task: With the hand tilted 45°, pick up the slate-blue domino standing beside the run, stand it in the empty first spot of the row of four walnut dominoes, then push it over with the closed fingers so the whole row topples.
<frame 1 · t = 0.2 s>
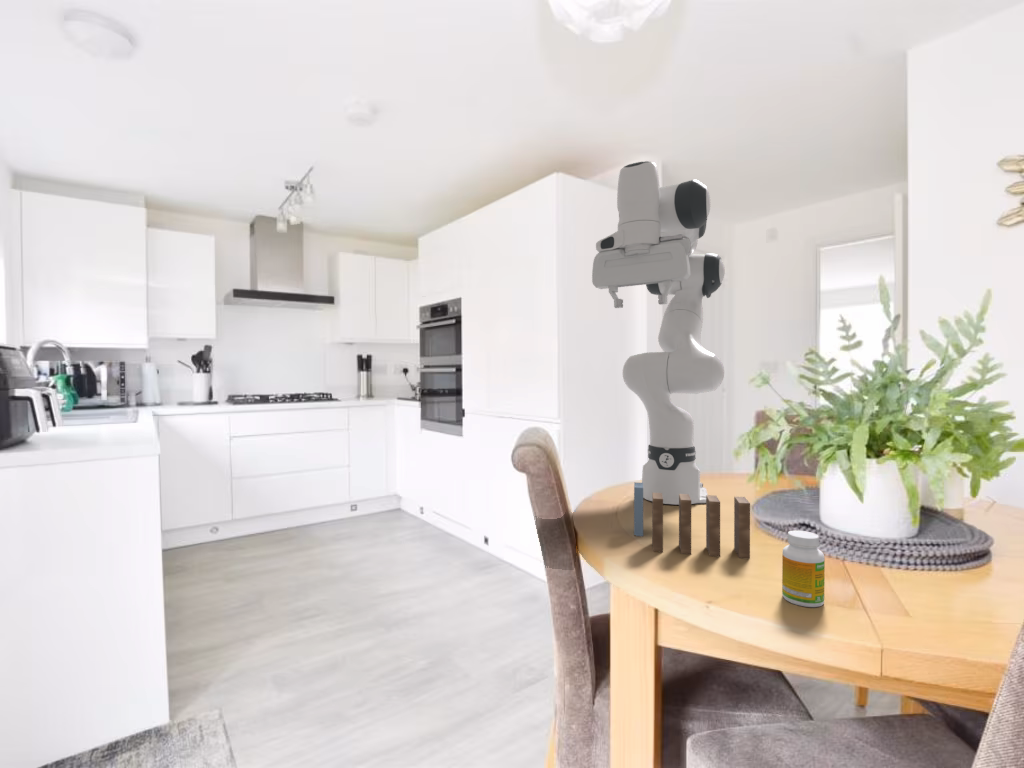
hand: (640, 306, 110), 48 cm above the table, tool pointing down, fingers open, 8 cm apart
domino 4: (713, 551, 97), on the table
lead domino: (638, 532, 109), on the table
supplement bottle: (802, 601, 76), on the table
domino 5: (741, 553, 96), on the table
domino 3: (684, 549, 98), on the table
domino 2: (657, 547, 99), on the table
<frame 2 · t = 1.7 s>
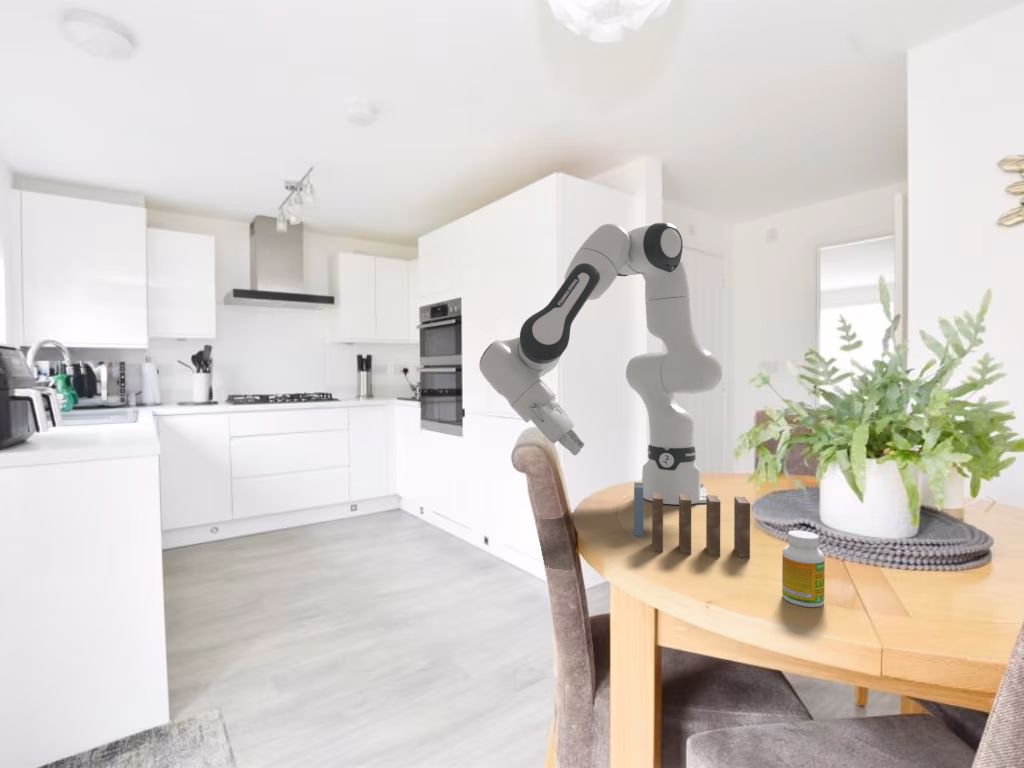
hand: (580, 450, 111), 17 cm above the table, tool tilted 45°, fingers open, 8 cm apart
nothing on the table moved.
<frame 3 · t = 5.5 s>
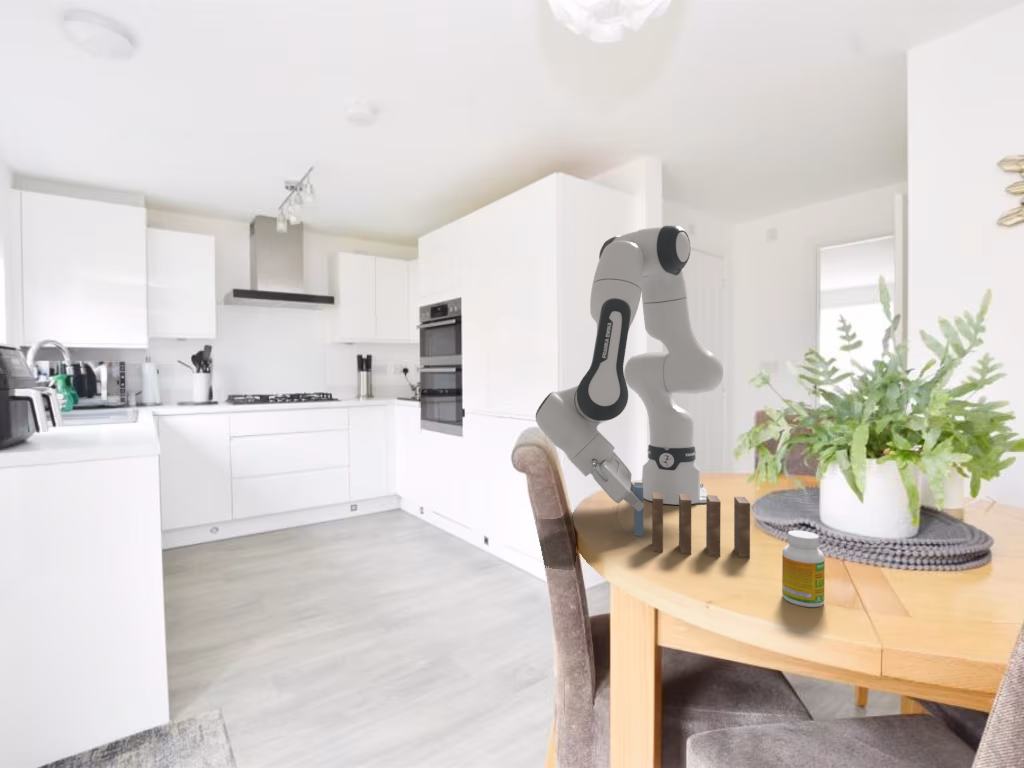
hand: (641, 504, 109), 6 cm above the table, tool tilted 45°, fingers closed on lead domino, 5 cm apart
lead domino: (638, 532, 109), on the table, touching gripper
everything else where it was.
when the fingers open (7 cm above the table, at t = 12.6 s): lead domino drops 1 cm, on the table.
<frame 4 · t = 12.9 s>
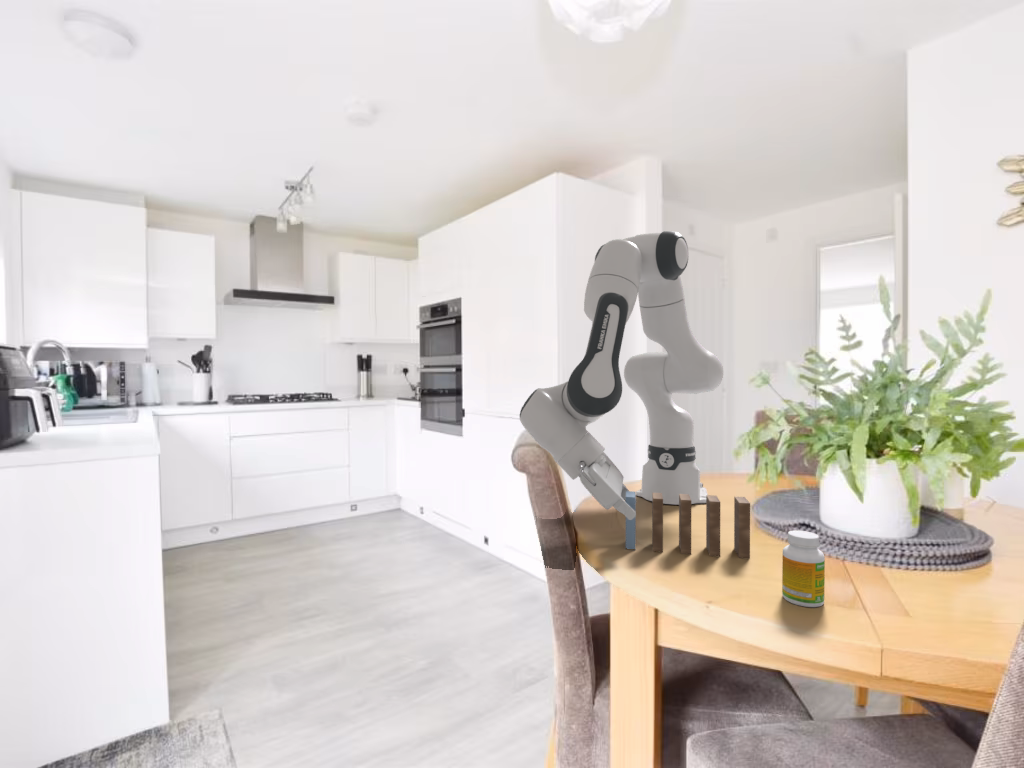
hand: (634, 510, 100), 7 cm above the table, tool tilted 45°, fingers open, 8 cm apart
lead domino: (630, 545, 101), on the table
everything else where it was.
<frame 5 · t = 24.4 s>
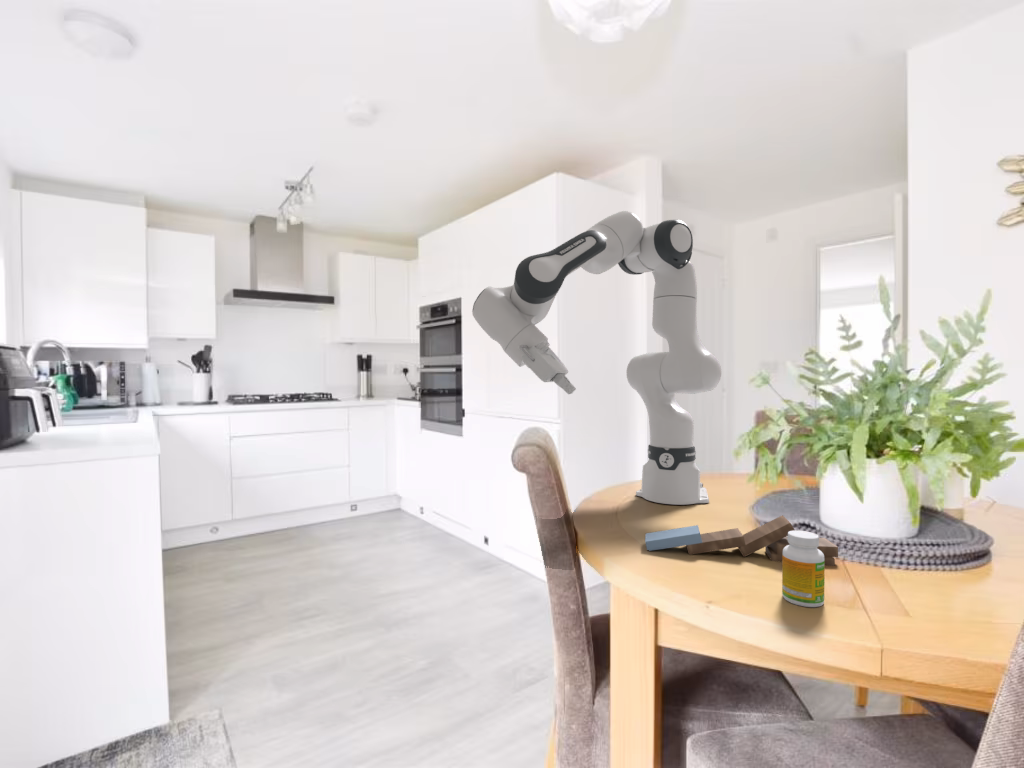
hand: (572, 392, 112), 29 cm above the table, tool tilted 45°, fingers closed
domino 4: (772, 545, 94), point 2 cm above the table, tilted 90°
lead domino: (646, 542, 100), point 1 cm above the table, tilted 76°, touching domino 2
domino 5: (768, 554, 95), on the table, tilted 90°
domino 3: (738, 548, 97), point 1 cm above the table, tilted 59°
domino 2: (686, 545, 98), point 1 cm above the table, tilted 77°, touching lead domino
everything else where it was.
at the end: domino 5 tilted 90°; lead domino tilted 76°; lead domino inside the target area (2.1 cm from its centre), point 0.9 cm above the table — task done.
